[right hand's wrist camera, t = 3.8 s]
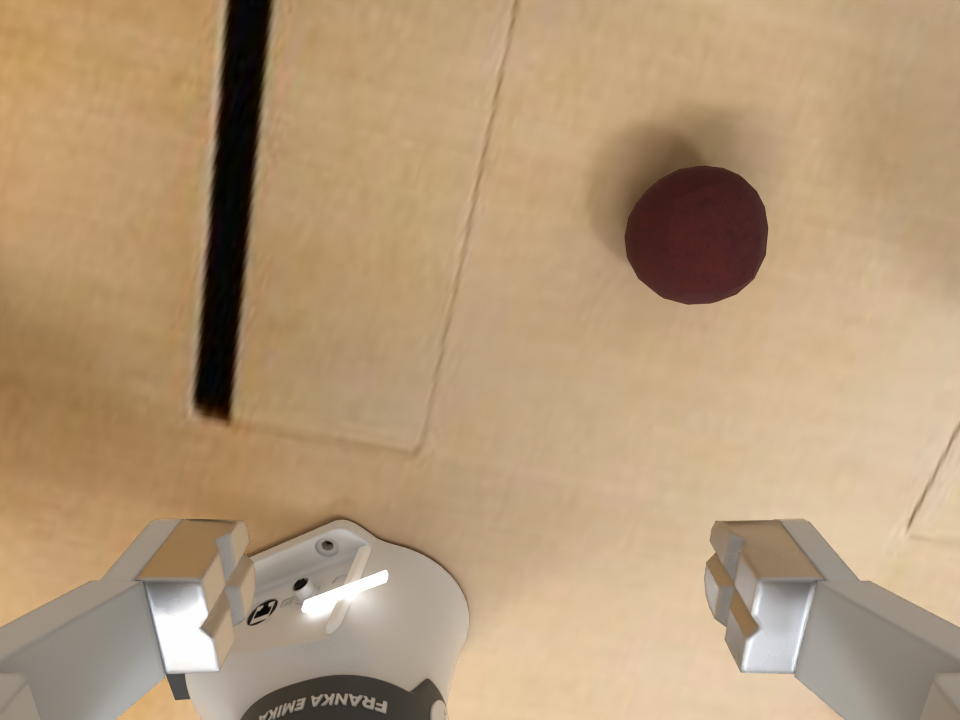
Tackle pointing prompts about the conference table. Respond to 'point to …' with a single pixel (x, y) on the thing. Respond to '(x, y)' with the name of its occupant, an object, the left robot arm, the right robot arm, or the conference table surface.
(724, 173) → the dark red ball
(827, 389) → the conference table surface
